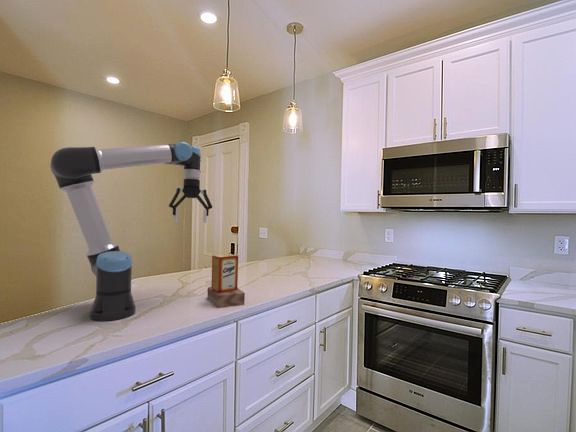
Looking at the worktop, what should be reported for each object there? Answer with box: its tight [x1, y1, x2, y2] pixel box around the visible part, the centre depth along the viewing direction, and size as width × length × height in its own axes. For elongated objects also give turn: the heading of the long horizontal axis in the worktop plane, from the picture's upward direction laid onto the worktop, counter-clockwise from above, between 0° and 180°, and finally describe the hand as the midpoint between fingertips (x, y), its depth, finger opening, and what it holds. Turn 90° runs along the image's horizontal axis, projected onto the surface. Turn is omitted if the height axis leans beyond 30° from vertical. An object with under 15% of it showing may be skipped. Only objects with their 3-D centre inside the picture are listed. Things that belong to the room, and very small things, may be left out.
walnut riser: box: [206, 286, 246, 309], centre depth 137 cm, size 12×16×5 cm
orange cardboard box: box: [210, 253, 239, 293], centre depth 137 cm, size 10×6×16 cm
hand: (190, 222), depth 147 cm, fingers open, 13 cm apart
